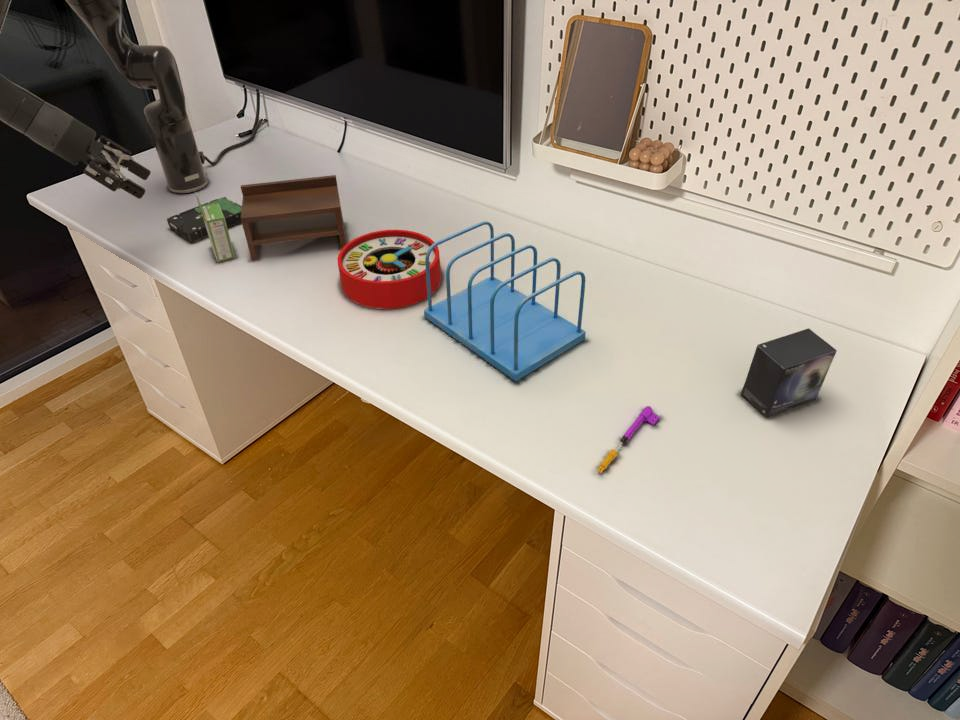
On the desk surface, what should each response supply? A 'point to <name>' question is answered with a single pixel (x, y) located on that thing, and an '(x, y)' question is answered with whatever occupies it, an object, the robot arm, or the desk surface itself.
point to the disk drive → (193, 222)
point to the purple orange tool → (630, 434)
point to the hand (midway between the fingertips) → (145, 185)
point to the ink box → (217, 231)
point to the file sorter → (505, 314)
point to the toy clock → (388, 269)
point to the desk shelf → (291, 211)
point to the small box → (787, 372)
